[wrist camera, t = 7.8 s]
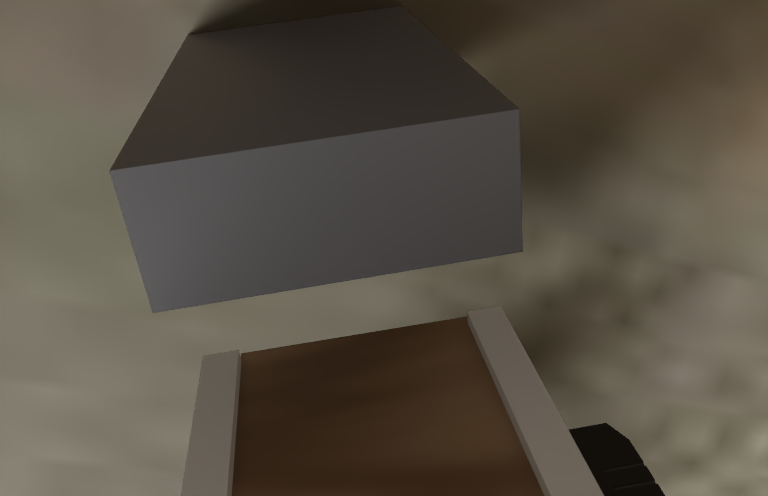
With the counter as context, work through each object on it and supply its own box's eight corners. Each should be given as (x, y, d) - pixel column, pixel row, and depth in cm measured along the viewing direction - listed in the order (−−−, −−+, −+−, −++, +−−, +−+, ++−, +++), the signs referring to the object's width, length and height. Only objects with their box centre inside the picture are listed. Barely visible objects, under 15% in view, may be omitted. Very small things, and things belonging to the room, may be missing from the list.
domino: (207, 118, 17) (152, 312, 9) (187, 35, 16) (108, 170, 8) (409, 89, 18) (522, 251, 10) (401, 5, 17) (520, 108, 9)
